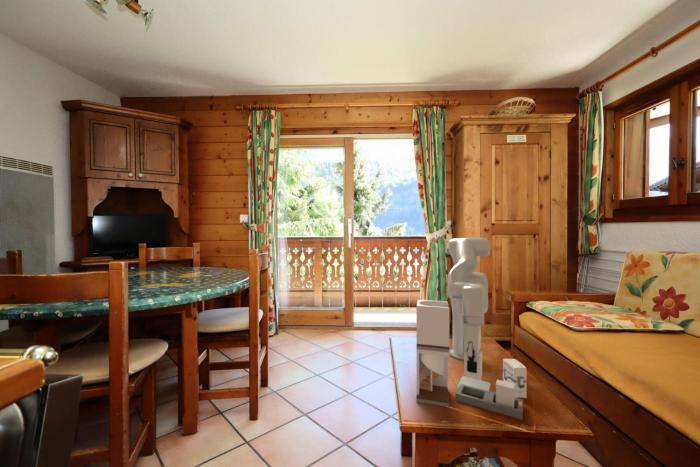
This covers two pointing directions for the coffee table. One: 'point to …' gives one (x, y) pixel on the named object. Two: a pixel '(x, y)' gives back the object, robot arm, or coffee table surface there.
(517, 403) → the power strip
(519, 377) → the ink box
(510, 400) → the off-white rectangular block
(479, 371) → the plug
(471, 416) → the coffee table surface
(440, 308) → the display case
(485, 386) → the mat
